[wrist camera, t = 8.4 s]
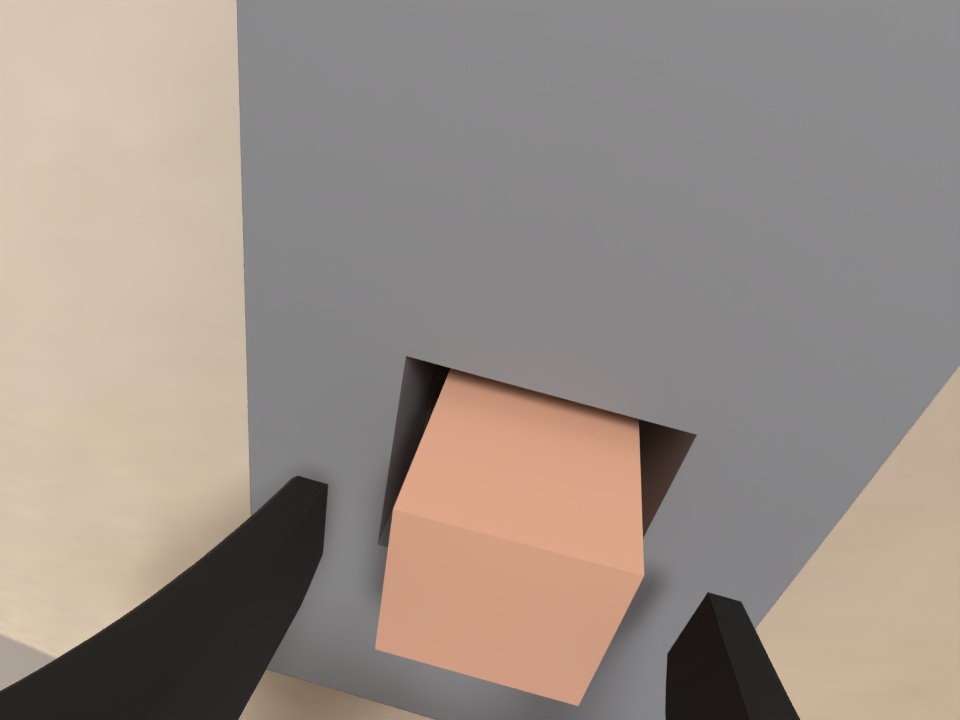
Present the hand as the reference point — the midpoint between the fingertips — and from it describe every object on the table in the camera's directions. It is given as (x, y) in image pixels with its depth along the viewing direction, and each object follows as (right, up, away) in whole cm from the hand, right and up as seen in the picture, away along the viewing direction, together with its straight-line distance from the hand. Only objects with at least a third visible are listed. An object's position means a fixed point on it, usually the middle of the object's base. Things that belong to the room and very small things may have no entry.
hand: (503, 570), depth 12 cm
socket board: (+1, +3, +5) cm, 6 cm away
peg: (+1, +3, +5) cm, 6 cm away
